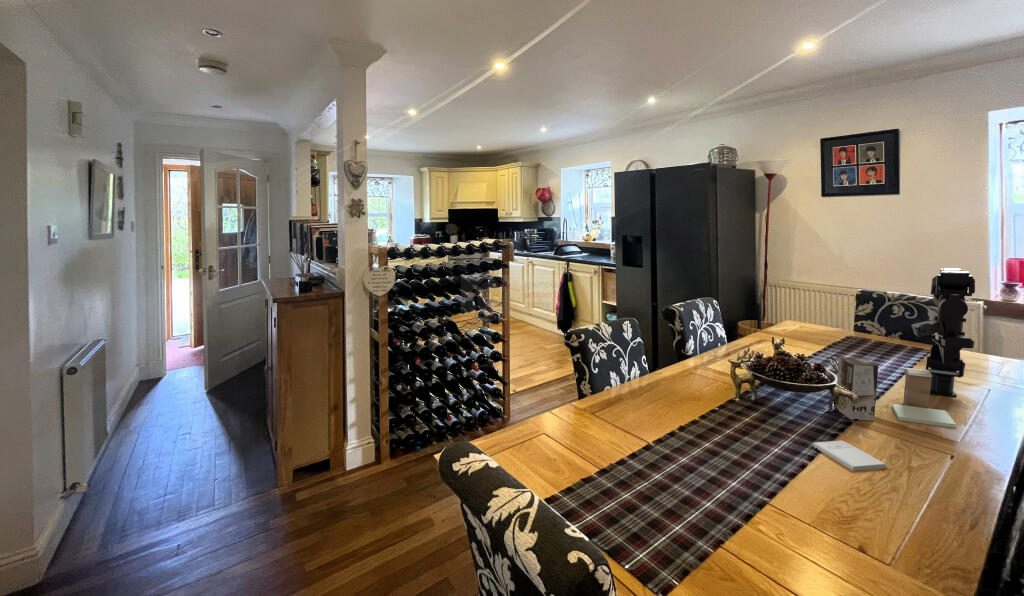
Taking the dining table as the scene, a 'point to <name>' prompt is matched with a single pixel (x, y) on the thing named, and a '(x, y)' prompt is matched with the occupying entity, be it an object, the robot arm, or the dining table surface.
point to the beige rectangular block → (917, 388)
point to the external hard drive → (849, 455)
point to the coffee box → (857, 387)
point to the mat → (923, 415)
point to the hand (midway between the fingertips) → (945, 364)
